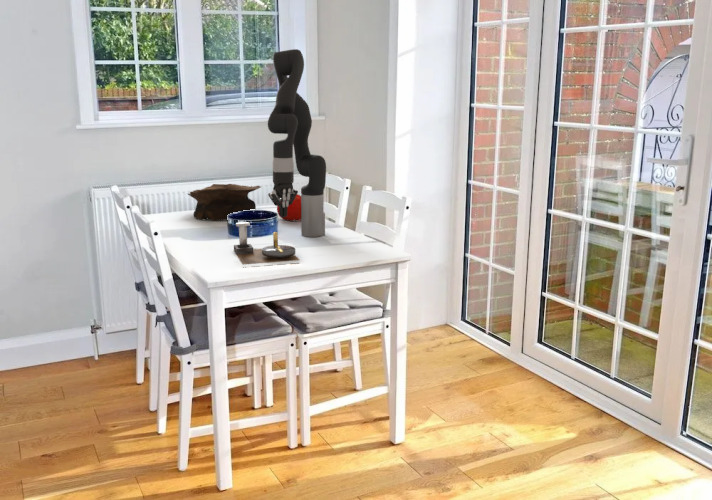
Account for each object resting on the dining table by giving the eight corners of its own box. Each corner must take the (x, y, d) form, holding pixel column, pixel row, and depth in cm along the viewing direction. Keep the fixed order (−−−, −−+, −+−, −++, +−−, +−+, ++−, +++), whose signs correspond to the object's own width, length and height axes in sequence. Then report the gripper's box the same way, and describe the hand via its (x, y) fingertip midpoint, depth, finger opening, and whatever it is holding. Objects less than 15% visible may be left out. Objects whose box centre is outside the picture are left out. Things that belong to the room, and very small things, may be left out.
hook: (249, 250, 263) (248, 221, 260) (250, 252, 260) (250, 223, 257) (236, 251, 261) (235, 222, 259) (237, 253, 259) (236, 224, 256)
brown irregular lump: (178, 224, 319) (174, 191, 316) (204, 213, 351) (201, 183, 348) (251, 220, 313) (248, 187, 311) (271, 210, 346) (268, 179, 343)
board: (287, 249, 270) (287, 241, 269) (299, 263, 251) (299, 254, 250) (233, 253, 263) (233, 244, 262) (242, 267, 245) (242, 258, 244)
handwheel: (291, 248, 262) (290, 231, 260) (299, 256, 251) (298, 238, 249) (259, 250, 258) (258, 233, 257) (265, 258, 247) (265, 240, 246)
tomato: (280, 216, 330) (280, 191, 327) (310, 217, 328) (310, 192, 325) (273, 222, 317) (273, 196, 314) (304, 223, 315) (304, 197, 312)
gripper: (289, 167, 263) (289, 213, 267) (262, 170, 253) (262, 217, 257) (303, 169, 258) (303, 216, 262) (276, 172, 248) (276, 220, 252)
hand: (283, 216), depth 260 cm, fingers closed
